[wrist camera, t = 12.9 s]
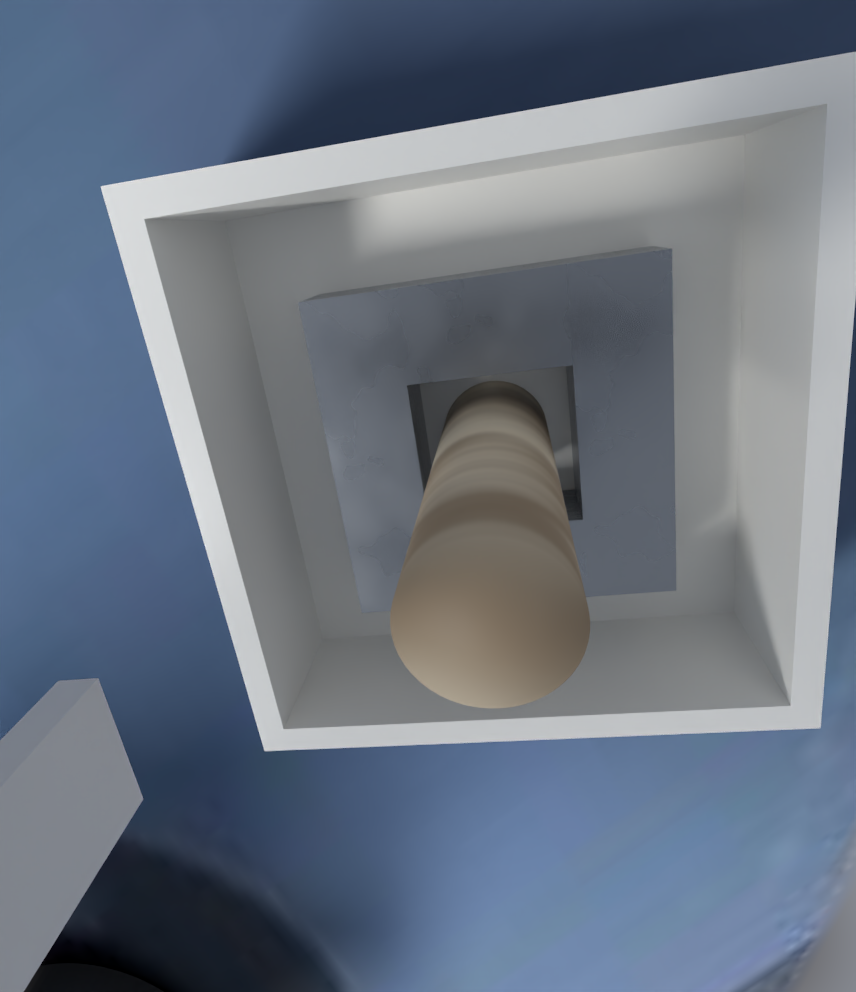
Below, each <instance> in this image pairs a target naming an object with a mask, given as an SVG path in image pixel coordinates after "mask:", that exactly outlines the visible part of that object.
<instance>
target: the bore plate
mask: <svg viewBox="0 0 856 992" xmlns="http://www.w3.org/2000/svg"><path fill="white" fill-rule="evenodd" d="M298 305H299V310H300V315H301V320H302V325H303V330H304V334H305V339H306V344H307V349H308V354H309V359H310V364H311V368H312V373H313V378H314V383H315V388H316V393H317V398H318V402H319V407H320V412H321V417H322V422H323V427H324V432H325V436H326V441H327V446H328V451H329V456H330V461H331V466H332V470H333V475H334V480H335V485H336V490H337V495H338V500H339V504H340V509H341V514H342V519H343V524H344V529H345V534H346V538H347V543H348V548H349V553H350V558H351V563H352V568H353V572H354V577H355V582H356V587H357V592H358V597H359V602H360V606H361V611H362V613H370V612H384V611H391V606H392V601H393V598H394V594H395V591H396V588H397V584H398V581H399V577H400V574H401V571H402V567H403V564H404V560H405V557H406V553H407V550H408V547H409V543H410V540H411V536H412V533H413V530H414V526H415V523H416V519H417V516H418V513H419V509H420V506H421V502H422V499H423V496H424V492H425V489H426V485H427V482H428V478H429V475H430V472H431V468H432V464H431V458H430V451H429V444H428V438H427V431H426V424H425V418H424V411H423V404H422V398H421V391H420V384H422V383H430V382H438V381H447V380H455V379H463V378H471V377H480V376H488V375H496V374H504V373H512V372H521V371H529V370H537V369H545V368H553V367H562V366H566V370H567V385H568V399H569V413H570V428H571V442H572V456H573V471H574V485H575V489H574V490H563V491H562V493H563V498H564V502H565V507H566V511H567V516H568V520H569V525H570V529H571V533H572V538H573V542H574V547H575V551H576V556H577V560H578V565H579V569H580V574H581V578H582V582H583V587H584V591H585V596H586V597H593V596H607V595H621V594H635V593H649V592H663V591H676V520H675V440H674V360H673V280H672V248H664V247H657V246H648V247H641V248H634V249H627V250H620V251H613V252H606V253H600V254H593V255H586V256H579V257H572V258H565V259H558V260H551V261H544V262H537V263H531V264H524V265H517V266H510V267H503V268H496V269H489V270H482V271H475V272H469V273H462V274H455V275H448V276H441V277H434V278H427V279H420V280H413V281H406V282H400V283H393V284H386V285H379V286H372V287H365V288H358V289H351V290H344V291H337V292H331V293H324V294H319V295H316V296H314V297H311V298H308V299H306V300H303V301H300V302H298Z"/></svg>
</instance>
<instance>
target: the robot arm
mask: <svg viewBox="0 0 856 992" xmlns="http://www.w3.org/2000/svg"><path fill="white" fill-rule="evenodd" d="M142 801H143V796H142V794H141V791H140V788H139V786H138V783H137V780H136V778H135V775H134V772H133V770H132V767H131V764H130V762H129V759H128V756H127V754H126V751H125V748H124V746H123V743H122V740H121V738H120V735H119V732H118V730H117V727H116V724H115V722H114V719H113V716H112V714H111V711H110V708H109V706H108V703H107V700H106V698H105V695H104V692H103V690H102V687H101V684H100V682H99V679H98V678H93V679H78V680H63V681H58V682H57V683H56V684H55V685H54V686H53V687H52V688H51V689H50V690H49V691H48V692H47V693H46V694H45V695H44V696H43V697H42V698H41V699H40V700H39V701H38V702H37V703H36V704H35V705H34V706H33V707H32V708H31V709H30V710H29V711H28V712H27V714H26V715H25V716H24V717H23V718H22V719H21V720H20V721H19V722H18V723H17V724H16V725H15V726H14V727H13V728H12V729H11V730H10V731H9V732H8V733H7V734H6V735H5V736H4V737H3V738H2V739H1V740H0V992H164V991H162V990H160V989H159V988H157V987H155V986H153V985H151V984H149V983H147V982H145V981H143V980H141V979H139V978H136V977H134V976H131V975H129V974H126V973H123V972H120V971H117V970H113V969H109V968H105V967H101V966H95V965H89V964H79V963H57V964H49V965H44V966H40V965H41V963H42V961H43V960H44V958H45V957H46V955H47V953H48V952H49V950H50V949H51V947H52V945H53V944H54V942H55V941H56V939H57V937H58V936H59V934H60V933H61V931H62V929H63V928H64V926H65V924H66V923H67V921H68V920H69V918H70V916H71V915H72V913H73V912H74V910H75V908H76V907H77V905H78V904H79V902H80V900H81V899H82V897H83V896H84V894H85V892H86V891H87V889H88V888H89V886H90V884H91V883H92V881H93V879H94V878H95V876H96V875H97V873H98V871H99V870H100V868H101V867H102V865H103V863H104V862H105V860H106V859H107V857H108V855H109V854H110V852H111V851H112V849H113V847H114V846H115V844H116V842H117V841H118V839H119V838H120V836H121V834H122V833H123V831H124V830H125V828H126V826H127V825H128V823H129V822H130V820H131V818H132V817H133V815H134V814H135V812H136V810H137V809H138V807H139V805H140V804H141V802H142Z"/></svg>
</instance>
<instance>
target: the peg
mask: <svg viewBox="0 0 856 992" xmlns="http://www.w3.org/2000/svg"><path fill="white" fill-rule="evenodd" d="M390 627H391V635H392V639H393V642H394V646H395V648H396V650H397V653H398V655H399V657H400V658H401V660H402V662H403V663H404V665H405V666H406V668H407V669H408V670H409V671H410V673H411V674H412V675H413V676H414V677H415V678H416V679H417V680H418V681H419V682H420V683H422V684H423V685H424V686H426V687H427V688H428V689H430V690H431V691H433V692H435V693H436V694H438V695H440V696H442V697H444V698H446V699H448V700H451V701H454V702H456V703H459V704H463V705H467V706H472V707H478V708H509V707H515V706H519V705H524V704H527V703H530V702H533V701H536V700H538V699H540V698H542V697H544V696H546V695H548V694H549V693H551V692H552V691H554V690H556V689H557V688H558V687H559V686H561V685H562V684H563V683H564V682H565V681H566V680H567V679H568V678H569V677H570V676H571V675H572V674H573V673H574V671H575V670H576V668H577V667H578V666H579V664H580V662H581V660H582V658H583V656H584V654H585V652H586V648H587V645H588V642H589V636H590V616H589V609H588V605H587V600H586V596H585V591H584V587H583V582H582V578H581V574H580V569H579V565H578V560H577V556H576V551H575V547H574V542H573V538H572V533H571V529H570V525H569V520H568V516H567V511H566V507H565V502H564V498H563V493H562V489H561V484H560V480H559V476H558V471H557V467H556V462H555V458H554V453H553V449H552V444H551V440H550V435H549V431H548V427H547V422H546V418H545V415H544V412H543V410H542V407H541V406H540V404H539V403H538V401H537V400H536V399H535V398H534V396H533V395H531V394H530V393H529V392H528V391H527V390H525V389H524V388H522V387H520V386H518V385H516V384H513V383H510V382H505V381H488V382H483V383H480V384H476V385H474V386H472V387H470V388H469V389H467V390H466V391H464V392H463V393H462V394H461V395H460V396H459V397H458V398H457V399H456V400H455V401H454V403H453V404H452V406H451V408H450V410H449V412H448V414H447V417H446V421H445V424H444V427H443V431H442V434H441V438H440V441H439V444H438V448H437V451H436V455H435V458H434V461H433V465H432V468H431V472H430V475H429V478H428V482H427V485H426V489H425V492H424V496H423V499H422V502H421V506H420V509H419V513H418V516H417V519H416V523H415V526H414V530H413V533H412V536H411V540H410V543H409V547H408V550H407V553H406V557H405V560H404V564H403V567H402V571H401V574H400V577H399V581H398V584H397V588H396V591H395V594H394V598H393V601H392V606H391V612H390Z"/></svg>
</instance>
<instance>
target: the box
mask: <svg viewBox="0 0 856 992" xmlns="http://www.w3.org/2000/svg"><path fill="white" fill-rule="evenodd" d="M101 190H102V193H103V197H104V200H105V203H106V207H107V210H108V214H109V217H110V221H111V224H112V228H113V231H114V234H115V238H116V241H117V245H118V248H119V252H120V255H121V259H122V262H123V265H124V269H125V272H126V276H127V279H128V283H129V286H130V290H131V293H132V296H133V300H134V303H135V307H136V310H137V314H138V317H139V321H140V324H141V327H142V331H143V334H144V338H145V341H146V345H147V348H148V352H149V355H150V358H151V362H152V365H153V369H154V372H155V376H156V379H157V383H158V386H159V389H160V393H161V396H162V400H163V403H164V407H165V410H166V414H167V417H168V421H169V424H170V427H171V431H172V434H173V438H174V441H175V445H176V448H177V452H178V455H179V458H180V462H181V465H182V469H183V472H184V476H185V479H186V483H187V486H188V489H189V493H190V496H191V500H192V503H193V507H194V510H195V514H196V517H197V520H198V524H199V527H200V531H201V534H202V538H203V541H204V545H205V548H206V551H207V555H208V558H209V562H210V565H211V569H212V572H213V576H214V579H215V582H216V586H217V589H218V593H219V596H220V600H221V603H222V607H223V610H224V613H225V617H226V620H227V624H228V627H229V631H230V634H231V638H232V641H233V644H234V648H235V651H236V655H237V658H238V662H239V665H240V669H241V672H242V675H243V679H244V682H245V686H246V689H247V693H248V696H249V700H250V703H251V706H252V710H253V713H254V717H255V720H256V724H257V727H258V731H259V734H260V737H261V741H262V744H263V748H264V751H282V750H307V749H331V748H355V747H379V746H403V745H427V744H452V743H476V742H500V741H524V740H548V739H572V738H597V737H621V736H645V735H669V734H693V733H718V732H742V731H766V730H790V729H814V728H821V715H822V703H823V691H824V679H825V666H826V654H827V642H828V630H829V617H830V605H831V593H832V581H833V568H834V556H835V544H836V531H837V519H838V507H839V495H840V482H841V470H842V458H843V446H844V433H845V421H846V409H847V397H848V384H849V372H850V360H851V347H852V335H853V323H854V311H855V298H856V52H851V53H845V54H839V55H834V56H828V57H823V58H817V59H811V60H806V61H800V62H795V63H789V64H783V65H778V66H772V67H766V68H761V69H755V70H750V71H744V72H738V73H733V74H727V75H722V76H716V77H710V78H705V79H699V80H694V81H688V82H682V83H677V84H671V85H666V86H660V87H654V88H649V89H643V90H638V91H632V92H626V93H621V94H615V95H610V96H604V97H598V98H593V99H587V100H582V101H576V102H570V103H565V104H559V105H554V106H548V107H542V108H537V109H531V110H526V111H520V112H514V113H509V114H503V115H498V116H492V117H486V118H481V119H475V120H470V121H464V122H458V123H453V124H447V125H442V126H436V127H430V128H425V129H419V130H414V131H408V132H402V133H397V134H391V135H386V136H380V137H374V138H369V139H363V140H358V141H352V142H346V143H341V144H335V145H330V146H324V147H318V148H313V149H307V150H301V151H296V152H290V153H285V154H279V155H273V156H268V157H262V158H257V159H251V160H245V161H240V162H234V163H229V164H223V165H217V166H212V167H206V168H201V169H195V170H189V171H184V172H178V173H173V174H167V175H161V176H156V177H150V178H145V179H139V180H133V181H128V182H122V183H117V184H111V185H105V186H101ZM648 246H657V247H664V248H672V280H673V360H674V440H675V520H676V591H663V592H649V593H635V594H621V595H607V596H593V597H586V600H587V605H588V609H589V616H590V636H589V642H588V645H587V648H586V652H585V654H584V656H583V658H582V660H581V662H580V664H579V666H578V667H577V668H576V670H575V671H574V673H573V674H572V675H571V676H570V677H569V678H568V679H567V680H566V681H565V682H564V683H563V684H562V685H561V686H559V687H558V688H557V689H556V690H554V691H552V692H551V693H549V694H548V695H546V696H544V697H542V698H540V699H538V700H536V701H533V702H530V703H527V704H524V705H519V706H515V707H509V708H478V707H472V706H467V705H463V704H459V703H456V702H454V701H451V700H448V699H446V698H444V697H442V696H440V695H438V694H436V693H435V692H433V691H431V690H430V689H428V688H427V687H426V686H424V685H423V684H422V683H420V682H419V681H418V680H417V679H416V678H415V677H414V676H413V675H412V674H411V673H410V671H409V670H408V669H407V668H406V666H405V665H404V663H403V662H402V660H401V658H400V657H399V655H398V653H397V650H396V648H395V646H394V642H393V639H392V635H391V627H390V612H391V611H384V612H370V613H362V611H361V606H360V602H359V597H358V592H357V587H356V582H355V577H354V572H353V568H352V563H351V558H350V553H349V548H348V543H347V538H346V534H345V529H344V524H343V519H342V514H341V509H340V504H339V500H338V495H337V490H336V485H335V480H334V475H333V470H332V466H331V461H330V456H329V451H328V446H327V441H326V436H325V432H324V427H323V422H322V417H321V412H320V407H319V402H318V398H317V393H316V388H315V383H314V378H313V373H312V368H311V364H310V359H309V354H308V349H307V344H306V339H305V334H304V330H303V325H302V320H301V315H300V310H299V305H298V302H300V301H303V300H306V299H308V298H311V297H314V296H316V295H319V294H324V293H331V292H337V291H344V290H351V289H358V288H365V287H372V286H379V285H386V284H393V283H400V282H406V281H413V280H420V279H427V278H434V277H441V276H448V275H455V274H462V273H469V272H475V271H482V270H489V269H496V268H503V267H510V266H517V265H524V264H531V263H537V262H544V261H551V260H558V259H565V258H572V257H579V256H586V255H593V254H600V253H606V252H613V251H620V250H627V249H634V248H641V247H648ZM488 381H505V382H510V383H513V384H516V385H518V386H520V387H522V388H524V389H525V390H527V391H528V392H529V393H530V394H531V395H533V396H534V398H535V399H536V400H537V401H538V403H539V404H540V406H541V407H542V410H543V412H544V415H545V418H546V422H547V427H548V431H549V435H550V440H551V444H552V449H553V453H554V458H555V462H556V467H557V471H558V476H559V480H560V484H561V489H562V491H563V490H574V489H575V485H574V471H573V456H572V442H571V428H570V413H569V399H568V385H567V370H566V366H562V367H553V368H545V369H537V370H529V371H521V372H512V373H504V374H496V375H488V376H480V377H471V378H463V379H455V380H447V381H438V382H430V383H422V384H420V391H421V398H422V404H423V411H424V418H425V424H426V431H427V438H428V444H429V451H430V458H431V464H432V465H433V461H434V458H435V455H436V451H437V448H438V444H439V441H440V438H441V434H442V431H443V427H444V424H445V421H446V417H447V414H448V412H449V410H450V408H451V406H452V404H453V403H454V401H455V400H456V399H457V398H458V397H459V396H460V395H461V394H462V393H463V392H464V391H466V390H467V389H469V388H470V387H472V386H474V385H476V384H480V383H483V382H488Z"/></svg>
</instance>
